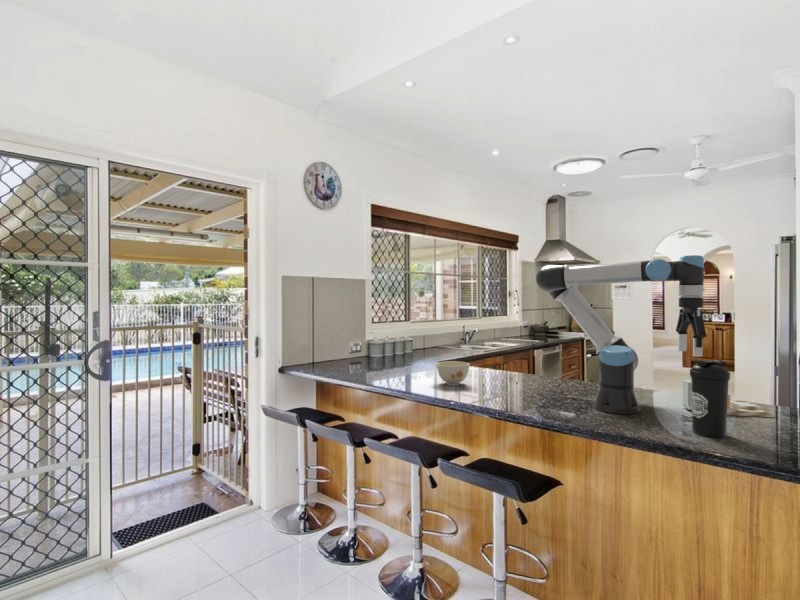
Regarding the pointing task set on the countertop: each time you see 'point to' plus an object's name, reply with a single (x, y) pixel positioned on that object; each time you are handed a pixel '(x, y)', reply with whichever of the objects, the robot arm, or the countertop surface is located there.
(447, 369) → the bowl
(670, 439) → the countertop surface
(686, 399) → the strip
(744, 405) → the broken strip
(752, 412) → the lane board
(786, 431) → the countertop surface
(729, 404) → the block
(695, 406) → the water bottle
